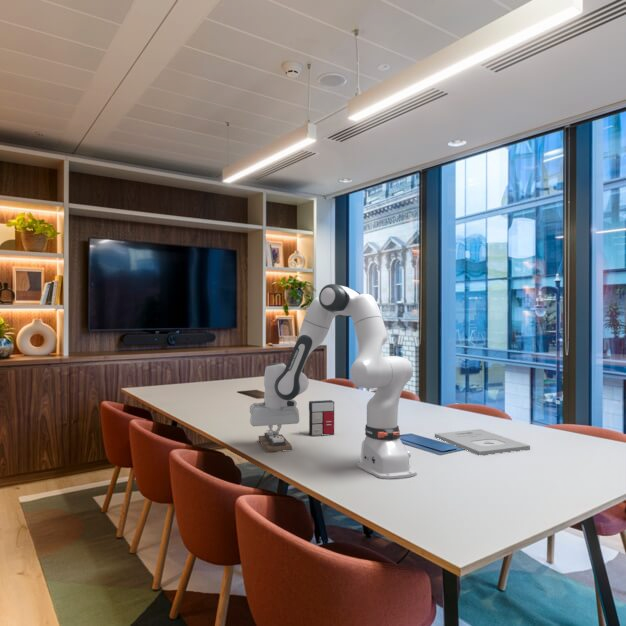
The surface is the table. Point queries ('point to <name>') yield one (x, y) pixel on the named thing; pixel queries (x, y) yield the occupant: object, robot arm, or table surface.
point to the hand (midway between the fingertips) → (274, 435)
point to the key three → (277, 439)
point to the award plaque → (482, 442)
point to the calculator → (321, 417)
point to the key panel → (274, 444)
